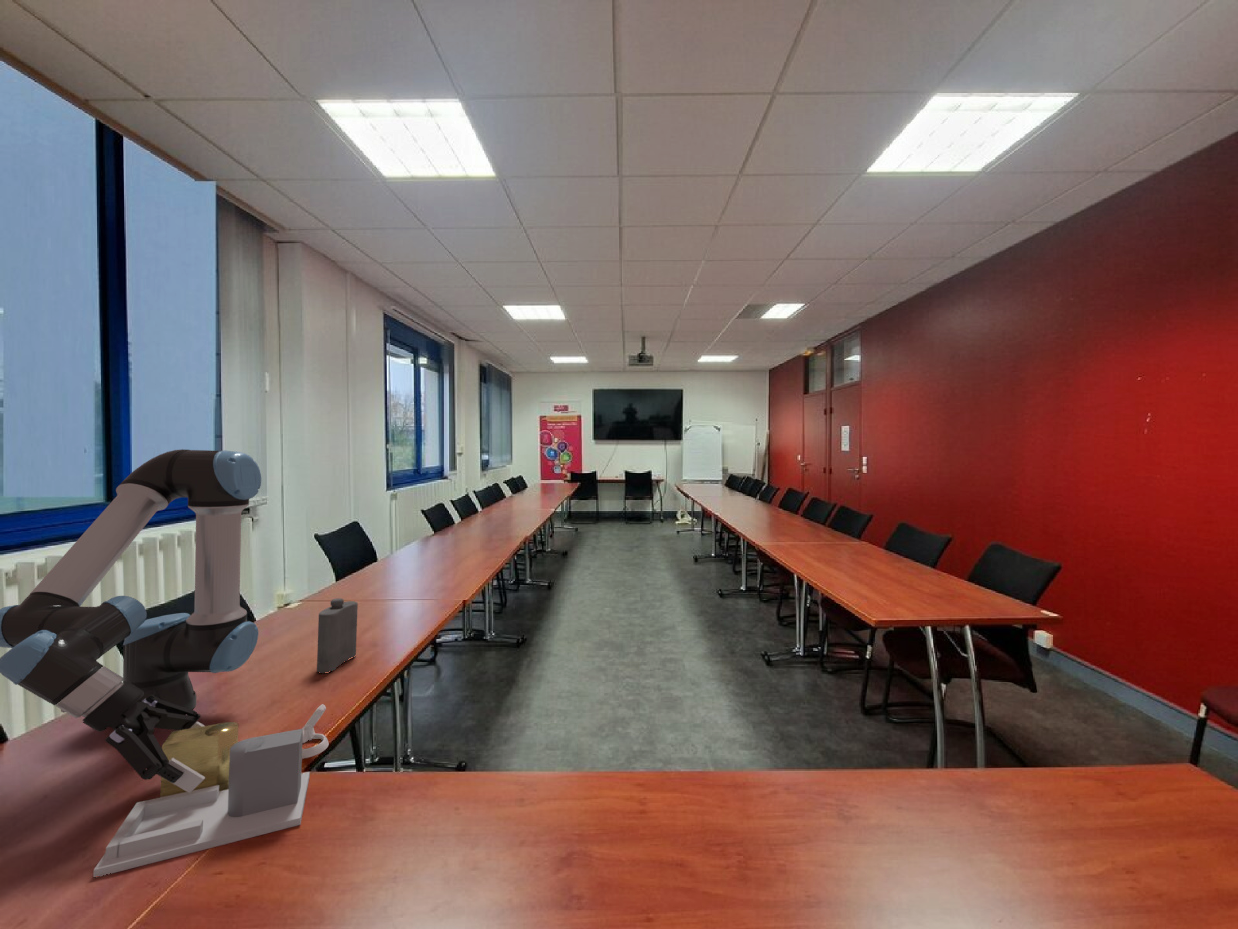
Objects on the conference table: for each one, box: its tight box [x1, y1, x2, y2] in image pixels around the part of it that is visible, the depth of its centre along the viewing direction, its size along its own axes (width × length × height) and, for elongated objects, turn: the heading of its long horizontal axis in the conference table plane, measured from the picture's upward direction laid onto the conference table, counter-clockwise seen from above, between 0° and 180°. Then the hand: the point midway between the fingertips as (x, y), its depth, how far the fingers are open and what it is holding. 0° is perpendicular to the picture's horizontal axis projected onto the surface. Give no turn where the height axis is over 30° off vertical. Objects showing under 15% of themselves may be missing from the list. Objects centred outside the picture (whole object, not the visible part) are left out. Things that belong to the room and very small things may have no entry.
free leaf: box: [159, 721, 239, 798], centre depth 92 cm, size 10×5×11 cm, turn 117°
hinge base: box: [93, 728, 311, 878], centre depth 85 cm, size 26×14×12 cm, turn 117°
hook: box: [301, 703, 330, 760], centre depth 106 cm, size 8×12×7 cm
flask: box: [316, 597, 359, 673], centre depth 151 cm, size 15×6×20 cm, turn 177°
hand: (209, 764), depth 93 cm, fingers open, 13 cm apart
